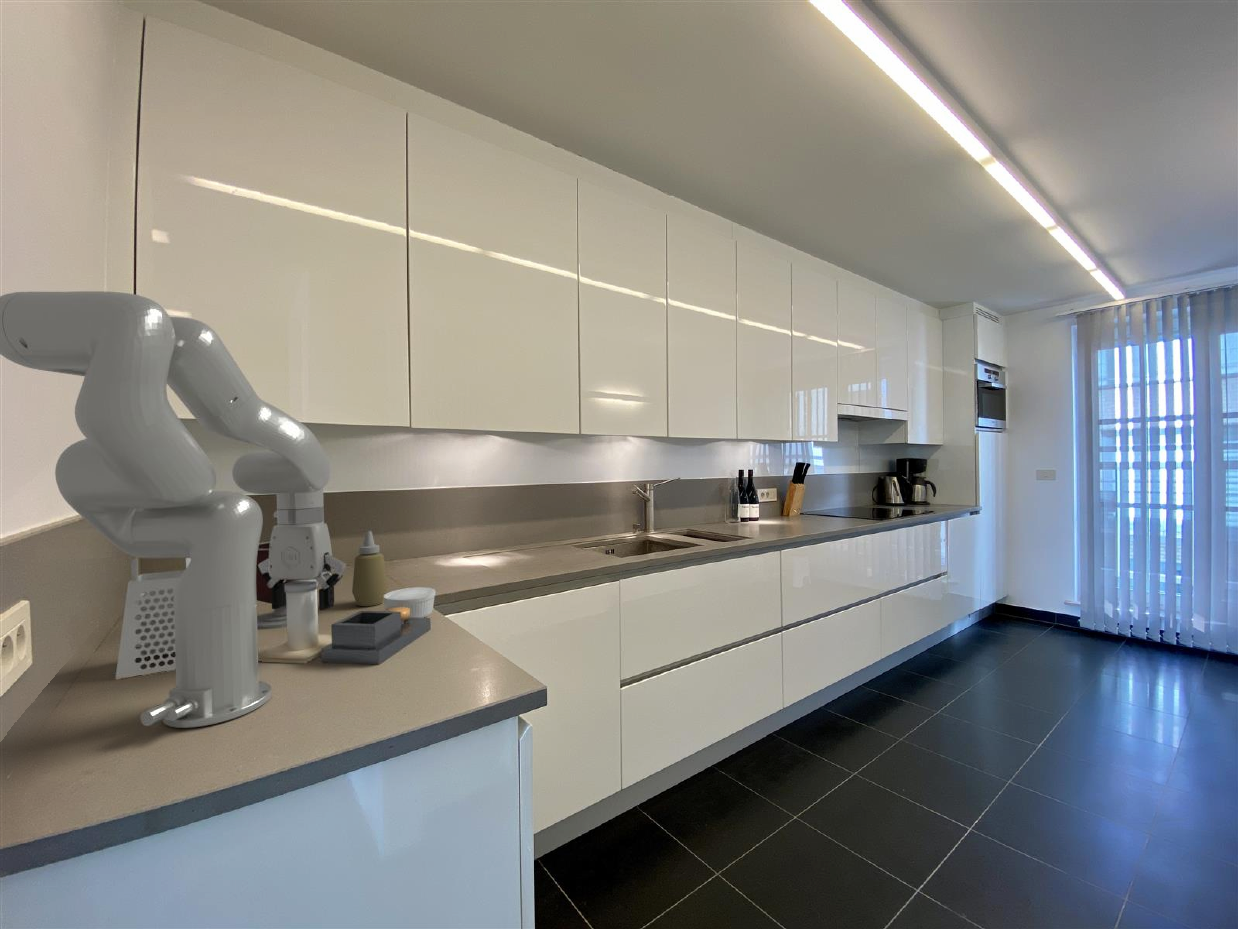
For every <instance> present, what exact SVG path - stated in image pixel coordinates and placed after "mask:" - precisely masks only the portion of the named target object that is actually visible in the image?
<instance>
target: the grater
mask: <svg viewBox="0 0 1238 929" xmlns="http://www.w3.org/2000/svg"><path fill="white" fill-rule="evenodd" d="M190 561H191V558H185V569H179V570H172V571H169V570H168V571H161V572H160V571H159V572H150V573H141V574H139V557H135V556H134V558H133V559H132V560H131V561H130V565H131V566H130V569H131V573H130V574H131V580H129V581H128V582H127V589H126V595H125V597H126V598H125V602H124V611H123V619H122V628H121V634H120V642H119V648H118V658H117V665H116V672H115V678H116V677H121V676H128V675H134V674H145V673H146V674H147V673H152V672H159V671H167V672H169V671H168V670H173V671H176V670H175V669H176V656H174V657H173V656H171V655H172V654H174V653H173V652H175V622H174V590H175V587H176V584H177V582H178V580H179V579H180V577H181V575H182V574H183V572H184V571H185V570H186V568H187V566H188V565H189V563H190ZM163 654H164V655H168V656H167V657H166V658H163ZM155 655H158V656H159V658H158V659H155V658H154V657H156V656H155ZM146 656H150V657H149V658H150V659H149V660H148V661H146V660H145V658H147V657H146ZM136 658H138V659H141V661H140V662H136V660H137V659H136ZM171 660H172V661H173V663H171V664H168V662H169V661H171ZM160 662H164V665H162V666H161V665H159V664H160ZM152 663H153V664H155V666H154V667H151V666H150V665H151V664H152ZM142 665H146V667H145V668H143V669H142Z"/></svg>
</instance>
